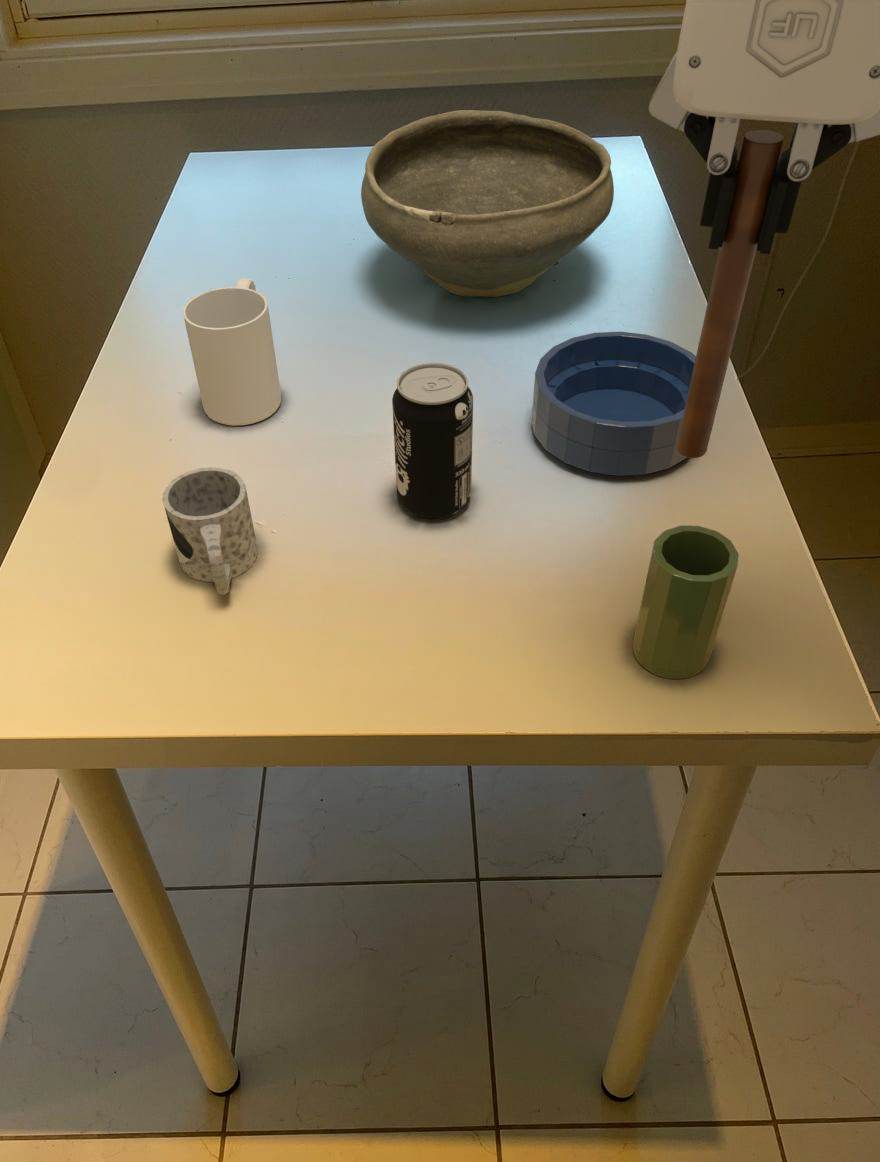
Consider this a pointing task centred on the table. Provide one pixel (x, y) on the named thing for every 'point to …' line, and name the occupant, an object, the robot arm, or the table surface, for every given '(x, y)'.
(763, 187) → the cooking stick
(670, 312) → the table surface
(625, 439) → the mixing bowl
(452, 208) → the bowl
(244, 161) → the table surface
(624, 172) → the table surface
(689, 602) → the utensil crock
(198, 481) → the mug
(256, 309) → the mug
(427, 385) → the beverage can
